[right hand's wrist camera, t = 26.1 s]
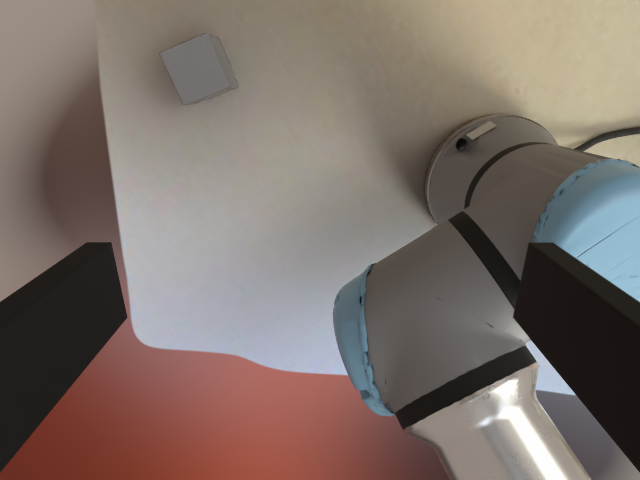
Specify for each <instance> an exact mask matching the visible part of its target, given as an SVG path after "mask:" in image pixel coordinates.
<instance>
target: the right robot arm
mask: <svg viewBox="0 0 640 480" xmlns="http://www.w3.org/2000/svg"><path fill="white" fill-rule="evenodd" d="M633 134H640V127H636V128H630V129H624V130H618V131H614V132H610V133H606V134H603V135H600V136H597V137H595V138H593V139H591V140H589V141H587V142H586V143H584V144H582V145H581V146H579V147H577V148H575V149H570V148H565V147H561V146H559V145H558V144H557V142H556V141H555V139H554V138H553V137H552V135H551V134H550V133H549V132H548V131H547V130H546V129H545V128H543V127H542V126H541V125H539V124H537V123H536V122H534V121H531V120H529V119H526V118H522V117H518V116H512V115H503V114H498V115H488V116H484V117H480V118H477V119H474V120H472V121H470V122H467V123H466V124H464V125H462V126H460V127H459V128H458V129H456V130H455V131H453V132H452V133H451V134H450V135H449V136H448V137H447V138H446V139H445V140H444V141H443V142H442V143H441V145H440V146H439V147H438V149H437V150H436V152H435V153H434V155H433V157H432V159H431V161H430V163H429V166H428V169H427V173H426V177H425V187H424V189H425V199H426V203H427V206H428V209H429V211H430V213H431V215H432V217H433V218H434V220H435V221H436V222H437V224H438V226H436V227H435V228H433V229H431V230H430V231H428V232H427V233H425V234H423V235H422V236H420V237H419V238H417V239H416V240H414V241H412V242H411V243H409V244H407V245H406V246H404V247H403V248H401V249H399V250H398V251H396V252H394V253H393V254H391V255H389V256H388V257H386V258H384V259H383V260H381V261H379V262H378V263H375V264H371V265H369V266H368V267H367V269H366V270H365V271H364V272H363V273H362V274H360V275H359V276H358V277H356V278H355V279H353V280H352V281H350V282H349V283H347V284H346V285H345V286H343V287H342V289H341V290H340V291H339V292H338V294H337V296H336V300H335V302H334V309H333V323H334V331H335V336H336V340H337V344H338V348H339V351H340V354H341V357H342V360H343V363H344V366H345V368H346V370H347V373H348V375H349V377H350V379H351V381H352V383H353V385H354V387H355V388H356V389H357V390H359V391H360V394H361V397H362V400H363V401H364V402H365V404H366V405H367V406H368V407H369V408H370V409H371V410H372V411H373V412H375V413H376V414H378V415H382V416H383V415H387V416H392V415H394V414H396V416H397V419H398V421H399V423H400V425H401V427H402V429H403V431H404V432H405V434H406V435H408V436H411V437H413V438H416V439H418V440H420V441H423V442H425V443H427V444H429V445H430V446H431V447H433V448H434V449H435V451H436V453H437V455H438V457H439V459H440V461H441V463H442V465H443V467H444V469H445V470H446V472H447V474H448V476H449V478H450V480H591V478H590V477H589V475H588V474H587V472H586V471H585V469H584V468H583V466H582V465H581V463H580V462H579V460H578V459H577V457H576V456H575V454H574V453H573V451H572V450H571V449H570V447H569V446H568V444H567V443H566V441H565V440H564V438H563V437H562V435H561V434H560V432H559V431H558V429H557V428H556V426H555V425H554V423H553V422H552V420H551V419H550V417H549V416H548V414H547V413H546V411H545V410H544V408H543V407H542V406H541V404H540V402H539V401H538V399H537V397H536V384H537V379H538V373H539V367H540V366H539V364H538V362H537V361H536V360H535V358H534V357H533V356H532V354H531V353H530V351H529V350H528V348H527V347H526V342H528V341H530V340H532V342H533V343H534V344H535V345H536V346H537V348H538V349H539V350H540V351H541V353H542V354H543V355H544V356H545V357H546V359H547V360H548V361H549V362H550V364H551V365H552V366H553V367H554V368H555V370H556V371H557V372H558V373H559V374H560V376H561V377H562V378H563V379H564V381H565V382H566V383H567V384H568V385H569V387H570V388H571V389H572V390H573V392H574V393H575V394H576V395H577V396H578V398H579V399H580V400H581V401H582V403H583V404H584V405H585V406H586V407H587V409H588V410H589V411H590V412H591V413H592V415H593V416H594V417H595V418H596V420H597V421H598V422H599V423H600V425H601V426H602V427H603V428H604V429H605V431H606V432H607V433H608V434H609V436H610V437H611V438H612V439H613V440H614V442H615V443H616V444H617V445H618V446H619V448H620V449H621V450H622V451H623V453H624V454H625V455H626V456H627V457H628V459H629V460H630V461H631V462H632V463H633V465H634V466H635V467H636V468H637V470H638V471H639V472H640V167H638V166H637V165H635V164H633V163H630V162H628V161H622V160H620V159H612V158H608V157H603V156H599V155H595V154H591V153H586V152H583V151H585V150H587V149H588V148H590V147H591V146H593V145H595V144H597V143H599V142H602V141H605V140H608V139H612V138H616V137H621V136H627V135H633ZM126 318H127V314H126V309H125V305H124V300H123V295H122V291H121V286H120V281H119V276H118V272H117V267H116V262H115V258H114V253H113V248H112V244H111V242H107V243H106V242H94V243H93V242H88V243H85V244H84V245H83V246H81V247H80V248H78V249H77V250H75V251H74V252H72V253H71V254H69V255H68V256H67V257H65V258H64V259H62V260H61V261H59V262H58V263H56V264H55V265H53V266H52V267H51V268H49V269H48V270H46V271H45V272H43V273H42V274H40V275H39V276H37V277H36V278H35V279H33V280H32V281H30V282H29V283H27V284H26V285H24V286H23V287H21V288H20V289H19V290H17V291H16V292H14V293H13V294H11V295H10V296H8V297H7V298H5V299H4V300H3V301H1V302H0V472H1V471H2V470H3V468H4V467H5V466H6V465H7V464H8V462H9V461H10V460H11V459H12V457H13V456H14V455H15V454H16V453H17V451H18V450H19V449H20V448H21V446H22V445H23V444H24V443H25V442H26V440H27V439H28V438H29V437H30V436H31V434H32V433H33V432H34V431H35V429H36V428H37V427H38V426H39V425H40V423H41V422H42V421H43V420H44V418H45V417H46V416H47V415H48V414H49V412H50V411H51V410H52V409H53V407H54V406H55V405H56V404H57V403H58V401H59V400H60V399H61V398H62V396H63V395H64V394H65V393H66V392H67V390H68V389H69V388H70V387H71V385H72V384H73V383H74V382H75V381H76V379H77V378H78V377H79V376H80V374H81V373H82V372H83V371H84V370H85V368H86V367H87V366H88V365H89V363H90V362H91V361H92V360H93V359H94V357H95V356H96V355H97V354H98V353H99V351H100V350H101V349H102V348H103V346H104V345H105V344H106V343H107V341H108V340H109V339H110V338H111V337H112V335H113V334H114V333H115V332H116V331H117V329H118V328H119V327H120V326H121V324H122V323H123V322H124V321H125V320H126Z"/></svg>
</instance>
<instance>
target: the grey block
mask: <svg viewBox="0 0 640 480" xmlns="http://www.w3.org/2000/svg"><path fill="white" fill-rule="evenodd" d="M159 54H160V56H161V58H162V61H163V63H164V65H165V67H166V69H167V71H168V73H169V76H170V78H171V80H172V82H173V84H174V86H175V88H176V91H177V93H178V95H179V97H180V99H181V101H182V103H183V105H188V104H194V103H199V102H202V101H204V100H207V99H209V98H211V97H214V96H216V95H219V94H221V93H224V92H226V91H229V90H231V89H234V88H236V87H238V86H239V85H238V83H237V80H236V78H235V76H234V73H233V71H232V68H231V66H230V63H229V61H228V58H227V56H226V54H225V51H224V49H223V46H222V44H221V41H220V39H219V38H217V37H215V36H212V35H210V34H208V33H205V34H202V35H200V36H198V37H195V38H193V39H191V40H188V41H186V42H184V43H181V44H179V45H177V46H174V47H172V48H169V49H167V50H165V51H162V52H160V53H159Z"/></svg>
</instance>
